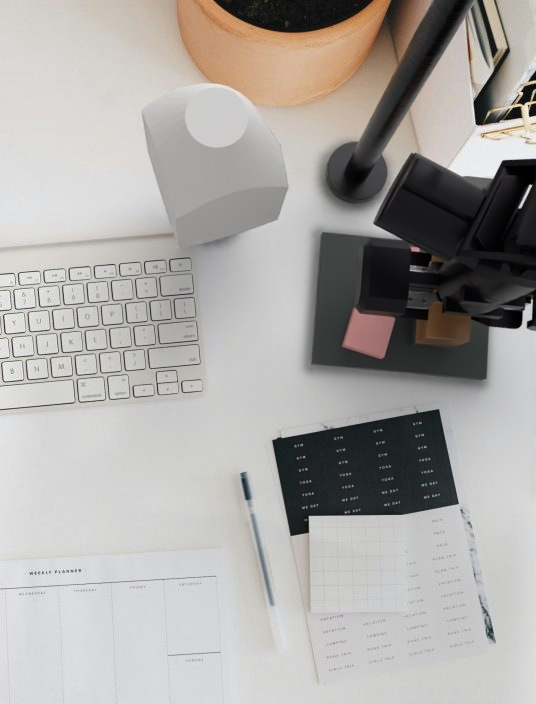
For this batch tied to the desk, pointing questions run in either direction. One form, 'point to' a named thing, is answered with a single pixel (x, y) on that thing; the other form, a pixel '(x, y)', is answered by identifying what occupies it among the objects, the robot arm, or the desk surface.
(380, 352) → the crumb
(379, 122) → the desk lamp
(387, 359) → the slate
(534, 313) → the robot arm
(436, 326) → the brown block
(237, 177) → the light fixture
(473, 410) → the desk surface
